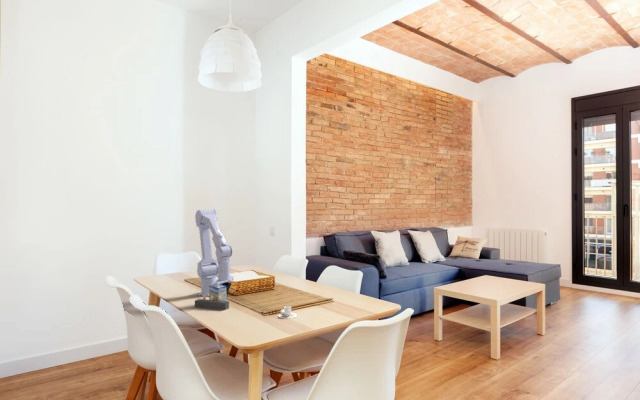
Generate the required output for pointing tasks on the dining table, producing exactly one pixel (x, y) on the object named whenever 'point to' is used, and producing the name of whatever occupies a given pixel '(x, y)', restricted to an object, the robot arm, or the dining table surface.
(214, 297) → the medicine box
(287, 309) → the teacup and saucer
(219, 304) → the pin header
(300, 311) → the dining table surface
